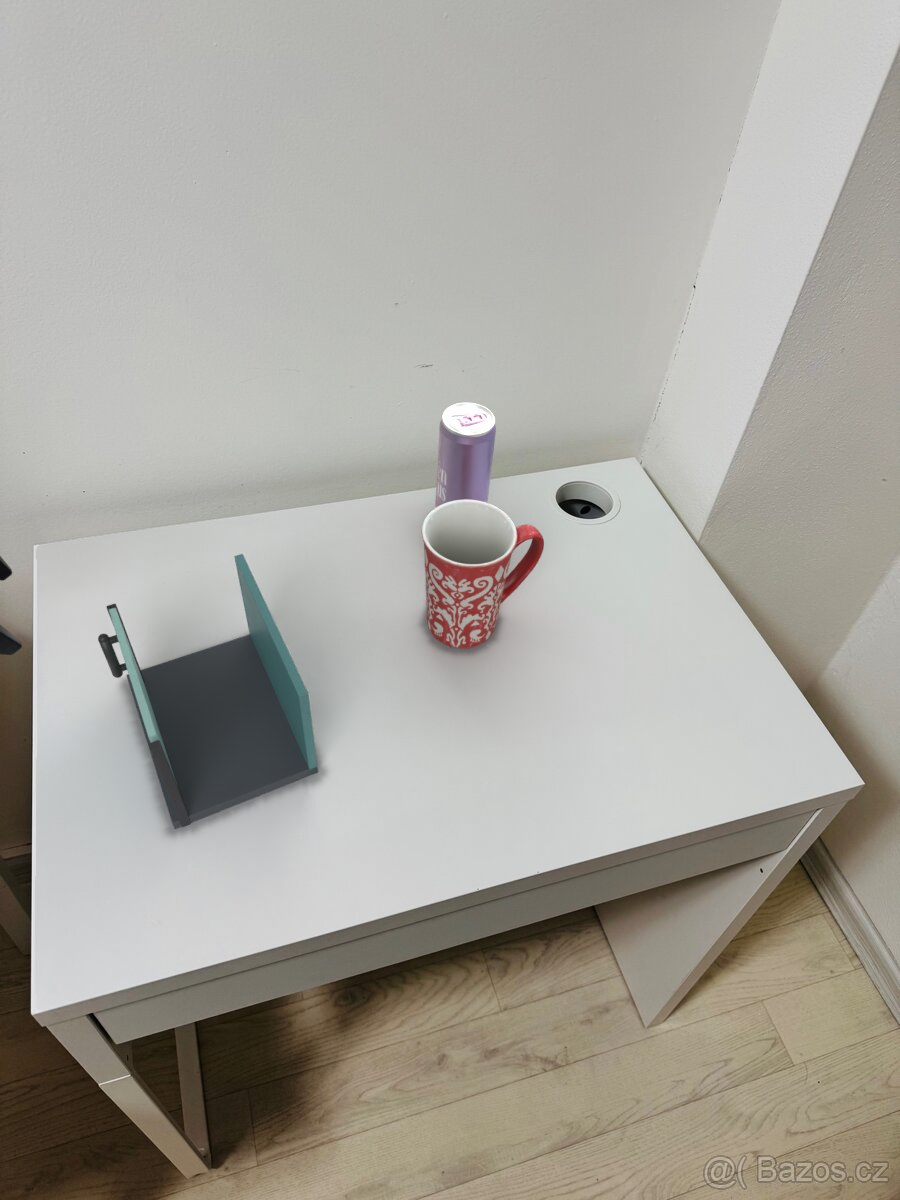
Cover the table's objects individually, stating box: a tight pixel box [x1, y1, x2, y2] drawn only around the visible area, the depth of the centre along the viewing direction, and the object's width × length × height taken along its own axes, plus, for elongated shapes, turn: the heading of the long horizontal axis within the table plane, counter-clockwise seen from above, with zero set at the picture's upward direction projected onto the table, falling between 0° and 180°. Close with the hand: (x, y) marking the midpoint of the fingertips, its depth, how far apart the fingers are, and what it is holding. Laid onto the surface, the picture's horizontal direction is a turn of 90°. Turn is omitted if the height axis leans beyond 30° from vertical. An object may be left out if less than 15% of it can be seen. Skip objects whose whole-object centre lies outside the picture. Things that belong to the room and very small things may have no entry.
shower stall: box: [126, 553, 319, 830], centre depth 74 cm, size 13×17×12 cm
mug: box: [421, 500, 545, 649], centre depth 84 cm, size 13×9×14 cm
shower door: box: [97, 603, 178, 787], centre depth 71 cm, size 2×14×11 cm, turn 27°
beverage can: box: [434, 402, 497, 509], centre depth 93 cm, size 6×6×15 cm
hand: (12, 611), depth 64 cm, fingers open, 9 cm apart
